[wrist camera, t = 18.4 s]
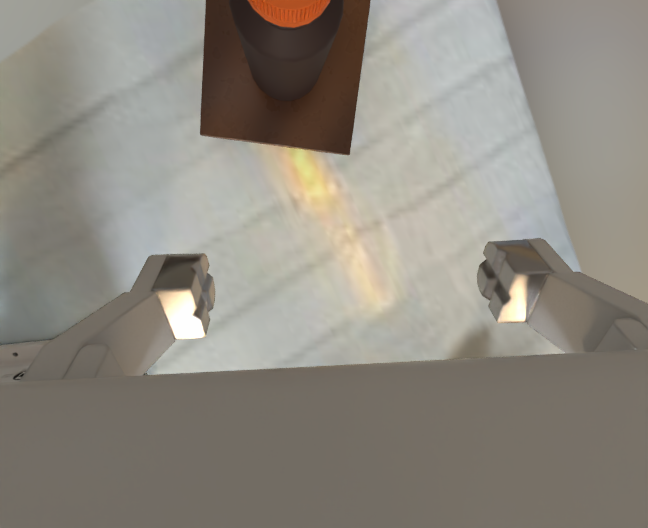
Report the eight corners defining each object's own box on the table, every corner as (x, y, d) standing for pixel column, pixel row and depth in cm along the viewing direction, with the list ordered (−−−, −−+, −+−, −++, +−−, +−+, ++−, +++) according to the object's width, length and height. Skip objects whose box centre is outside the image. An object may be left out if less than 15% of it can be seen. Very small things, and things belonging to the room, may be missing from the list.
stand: (210, 138, 43) (199, 134, 37) (218, -12, 39) (207, -43, 34) (340, 156, 45) (349, 154, 39) (359, 14, 41) (372, -10, 36)
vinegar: (326, 34, 36) (376, -115, 17) (313, 108, 38) (345, 49, 18) (255, 15, 35) (222, -165, 16) (244, 93, 37) (202, 13, 17)
